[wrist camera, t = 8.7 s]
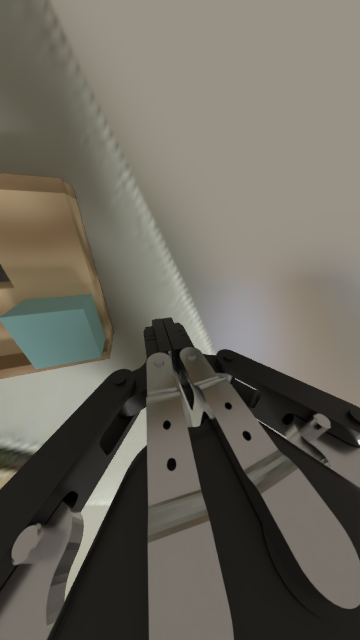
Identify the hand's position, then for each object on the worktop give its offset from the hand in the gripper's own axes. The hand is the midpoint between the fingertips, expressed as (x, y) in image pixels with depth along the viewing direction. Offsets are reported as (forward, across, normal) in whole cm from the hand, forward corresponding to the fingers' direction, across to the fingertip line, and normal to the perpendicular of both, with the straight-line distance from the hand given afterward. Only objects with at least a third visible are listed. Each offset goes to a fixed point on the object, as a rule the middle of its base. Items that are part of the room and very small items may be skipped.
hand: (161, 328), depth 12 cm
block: (+5, +8, +1) cm, 9 cm away
